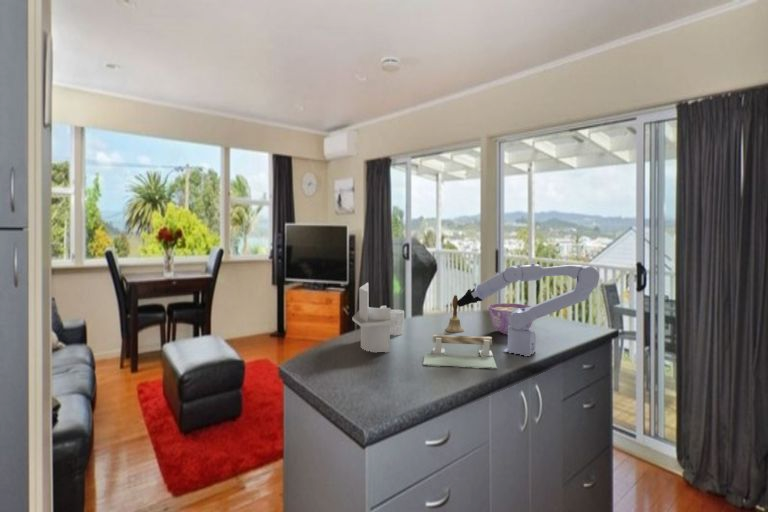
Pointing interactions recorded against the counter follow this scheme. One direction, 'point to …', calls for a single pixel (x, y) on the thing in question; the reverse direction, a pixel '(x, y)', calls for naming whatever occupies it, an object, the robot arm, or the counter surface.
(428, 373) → the counter surface
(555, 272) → the robot arm
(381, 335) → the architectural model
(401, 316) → the white cup
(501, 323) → the bowl of food
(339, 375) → the counter surface
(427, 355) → the green mat
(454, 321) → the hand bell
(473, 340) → the oak rail
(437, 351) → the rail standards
